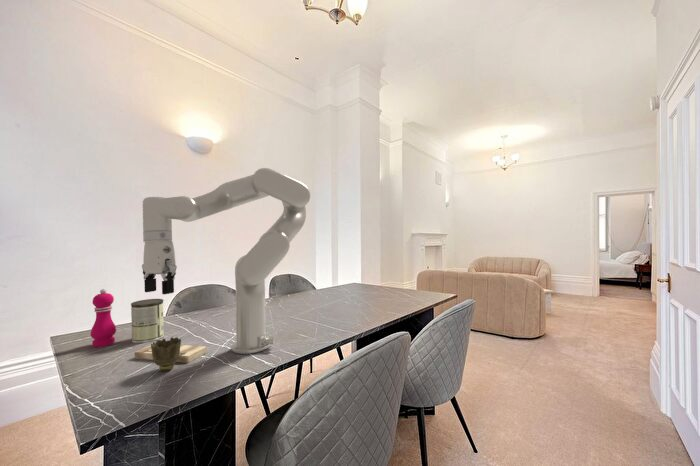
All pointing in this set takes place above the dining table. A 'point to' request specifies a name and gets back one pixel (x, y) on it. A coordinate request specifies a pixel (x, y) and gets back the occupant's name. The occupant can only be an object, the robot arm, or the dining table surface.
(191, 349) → the maple board
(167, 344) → the cup
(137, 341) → the coffee can
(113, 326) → the pepper mill
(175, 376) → the dining table surface
